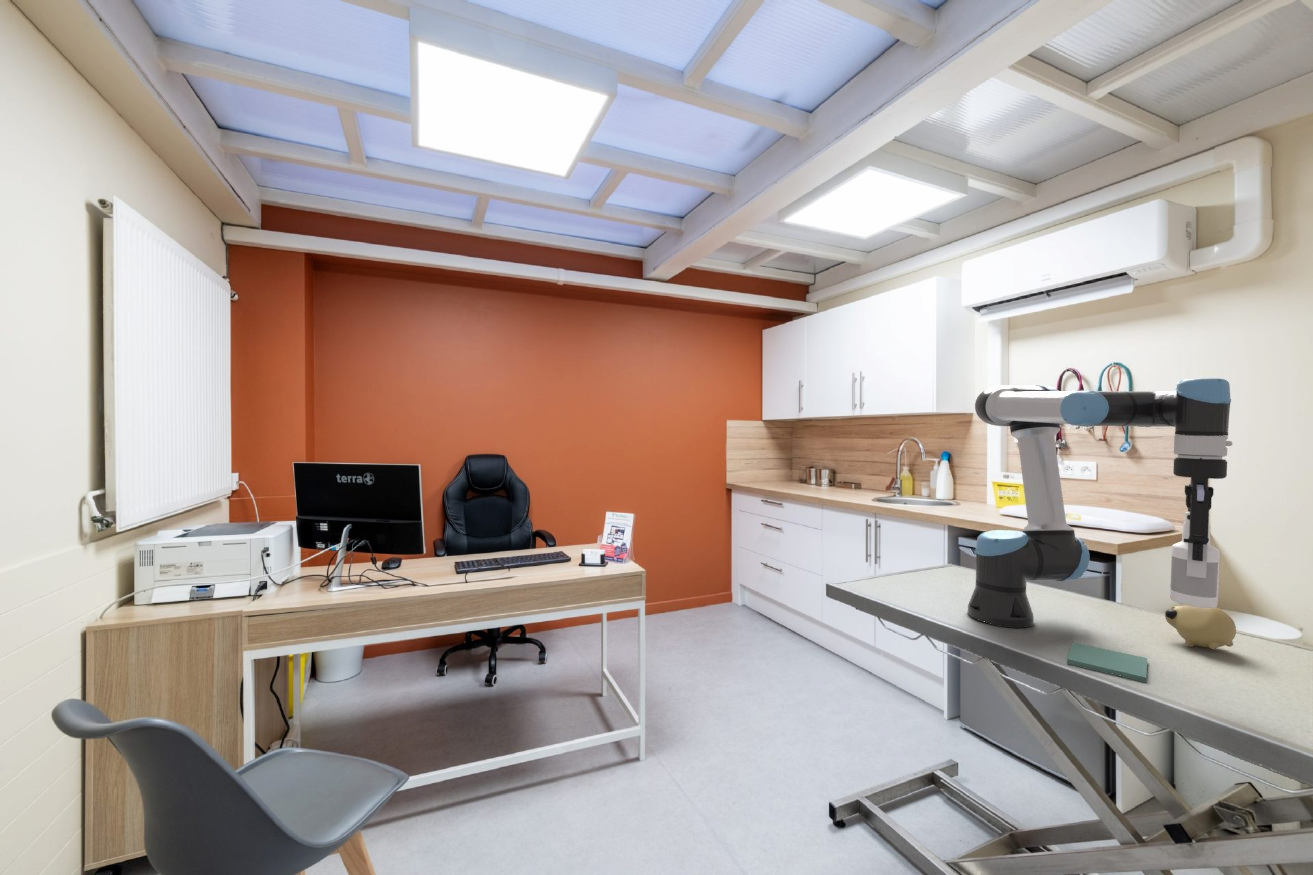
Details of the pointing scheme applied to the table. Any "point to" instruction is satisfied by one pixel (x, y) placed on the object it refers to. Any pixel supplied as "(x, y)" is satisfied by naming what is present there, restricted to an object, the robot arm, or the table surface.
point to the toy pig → (1202, 626)
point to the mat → (1108, 661)
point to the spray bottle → (1194, 588)
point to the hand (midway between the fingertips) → (1195, 572)
